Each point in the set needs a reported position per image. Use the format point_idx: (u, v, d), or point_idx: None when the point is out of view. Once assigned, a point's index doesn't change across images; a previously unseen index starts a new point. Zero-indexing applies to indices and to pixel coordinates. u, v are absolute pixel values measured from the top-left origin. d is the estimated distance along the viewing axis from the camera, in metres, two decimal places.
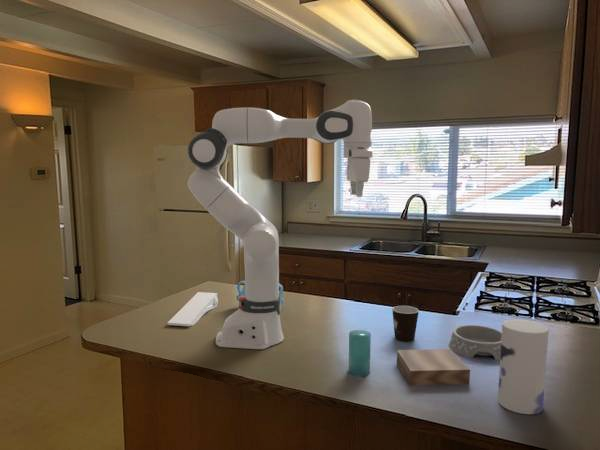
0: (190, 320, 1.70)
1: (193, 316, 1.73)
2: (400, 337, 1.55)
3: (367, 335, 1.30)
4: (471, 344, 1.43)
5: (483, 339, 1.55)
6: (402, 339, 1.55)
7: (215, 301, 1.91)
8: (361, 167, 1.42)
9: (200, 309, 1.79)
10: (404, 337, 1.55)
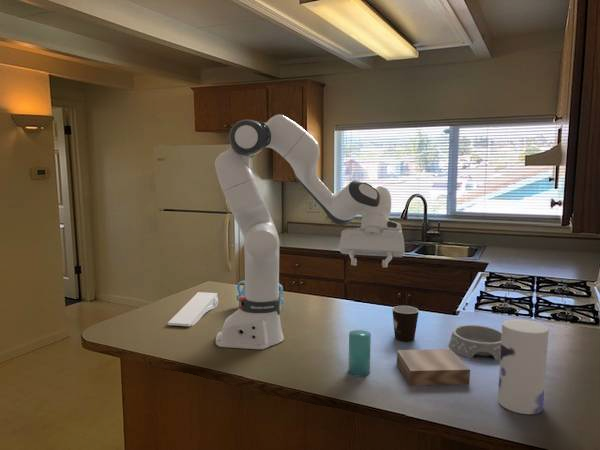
0: (190, 320, 1.70)
1: (193, 316, 1.73)
2: (400, 337, 1.55)
3: (367, 335, 1.30)
4: (470, 344, 1.43)
5: (483, 339, 1.55)
6: (402, 339, 1.55)
7: (215, 301, 1.91)
8: None
9: (200, 309, 1.79)
10: (404, 337, 1.55)
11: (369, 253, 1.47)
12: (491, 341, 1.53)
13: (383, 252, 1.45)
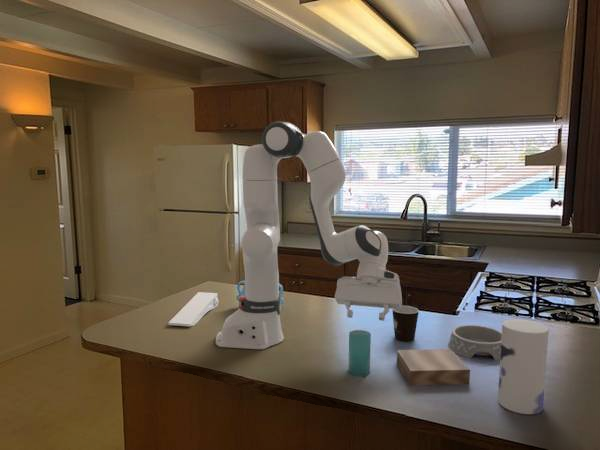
0: (191, 320, 1.70)
1: (194, 316, 1.73)
2: (400, 337, 1.55)
3: (367, 335, 1.30)
4: (470, 344, 1.43)
5: (482, 339, 1.55)
6: (402, 339, 1.55)
7: (215, 301, 1.91)
8: None
9: (201, 309, 1.79)
10: (404, 337, 1.55)
11: (366, 304, 1.43)
12: (490, 341, 1.53)
13: (380, 304, 1.42)
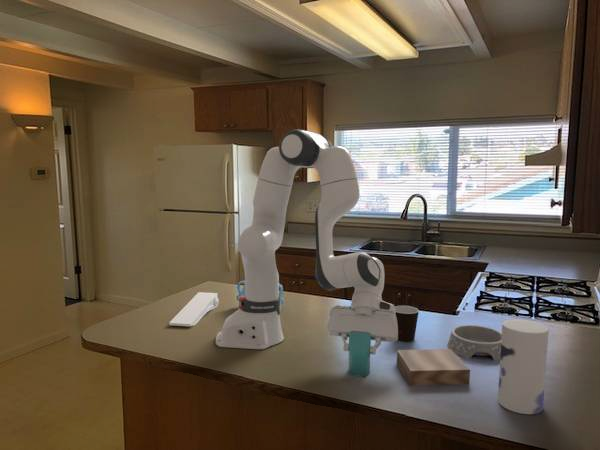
0: (192, 320, 1.70)
1: (194, 316, 1.73)
2: (400, 337, 1.55)
3: (367, 335, 1.30)
4: (469, 344, 1.43)
5: (482, 339, 1.55)
6: (402, 339, 1.55)
7: (216, 301, 1.91)
8: (397, 325, 1.34)
9: (201, 309, 1.79)
10: (404, 337, 1.55)
11: None
12: (490, 341, 1.53)
13: None
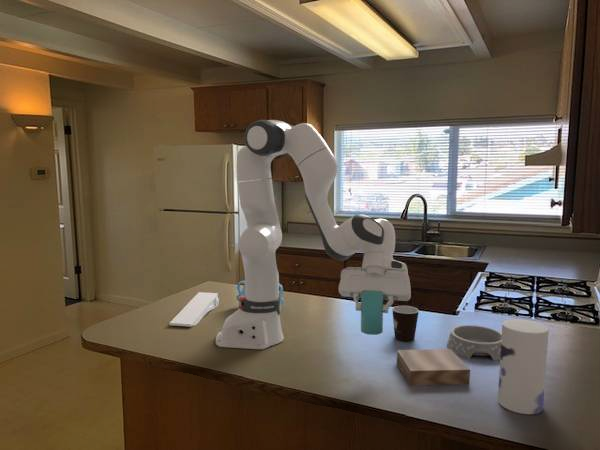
0: (192, 320, 1.70)
1: (195, 316, 1.73)
2: (400, 337, 1.55)
3: (379, 293, 1.28)
4: (468, 344, 1.43)
5: (481, 339, 1.55)
6: (402, 339, 1.55)
7: (216, 301, 1.91)
8: None
9: (202, 309, 1.79)
10: (404, 337, 1.55)
11: None
12: (489, 341, 1.53)
13: None
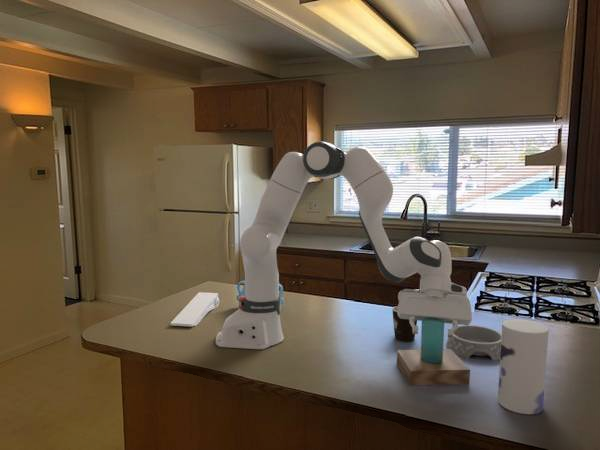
0: (193, 320, 1.70)
1: (196, 316, 1.73)
2: (400, 337, 1.55)
3: (441, 322, 1.29)
4: (467, 345, 1.43)
5: (480, 339, 1.55)
6: (402, 339, 1.55)
7: (216, 301, 1.91)
8: None
9: (202, 309, 1.79)
10: (404, 337, 1.55)
11: None
12: (489, 341, 1.53)
13: (447, 319, 1.32)
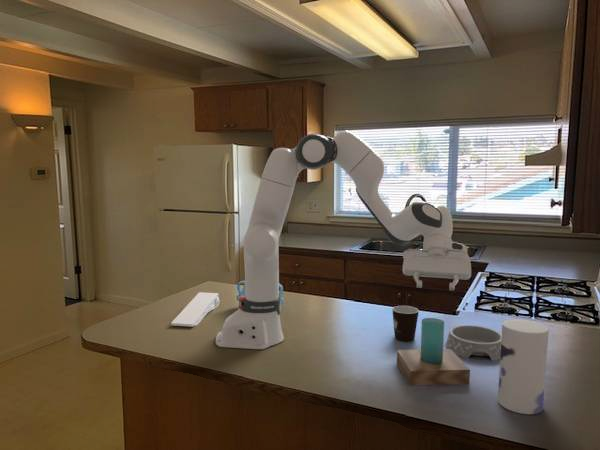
0: (194, 320, 1.70)
1: (196, 316, 1.73)
2: (400, 337, 1.55)
3: (441, 322, 1.29)
4: (467, 345, 1.43)
5: (480, 339, 1.55)
6: (402, 339, 1.55)
7: (217, 301, 1.91)
8: None
9: (203, 309, 1.79)
10: (404, 337, 1.55)
11: (434, 275, 1.45)
12: (488, 341, 1.53)
13: (449, 274, 1.43)
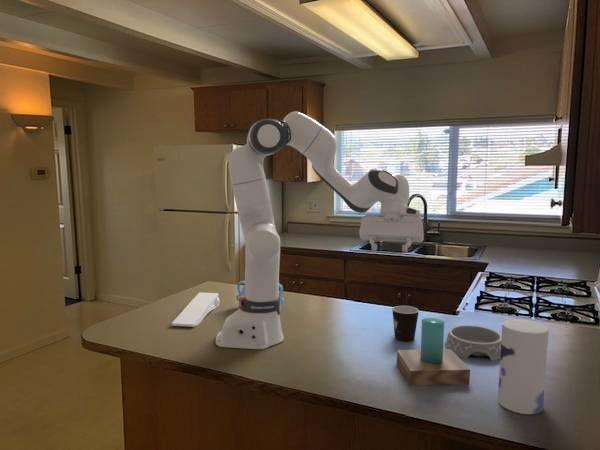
0: (194, 320, 1.70)
1: (197, 316, 1.73)
2: (400, 337, 1.55)
3: (441, 322, 1.29)
4: (466, 345, 1.43)
5: (479, 339, 1.55)
6: (402, 339, 1.55)
7: (217, 301, 1.91)
8: None
9: (203, 309, 1.78)
10: (404, 337, 1.55)
11: (389, 239, 1.51)
12: (487, 341, 1.53)
13: (403, 238, 1.49)
